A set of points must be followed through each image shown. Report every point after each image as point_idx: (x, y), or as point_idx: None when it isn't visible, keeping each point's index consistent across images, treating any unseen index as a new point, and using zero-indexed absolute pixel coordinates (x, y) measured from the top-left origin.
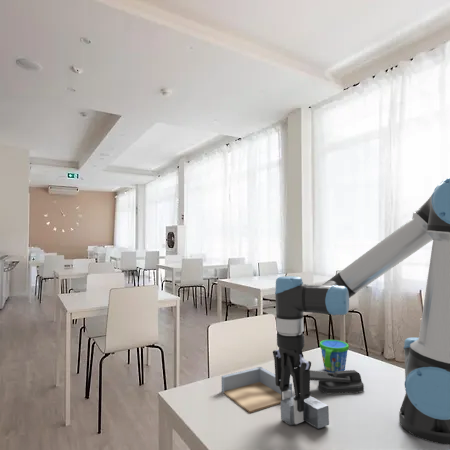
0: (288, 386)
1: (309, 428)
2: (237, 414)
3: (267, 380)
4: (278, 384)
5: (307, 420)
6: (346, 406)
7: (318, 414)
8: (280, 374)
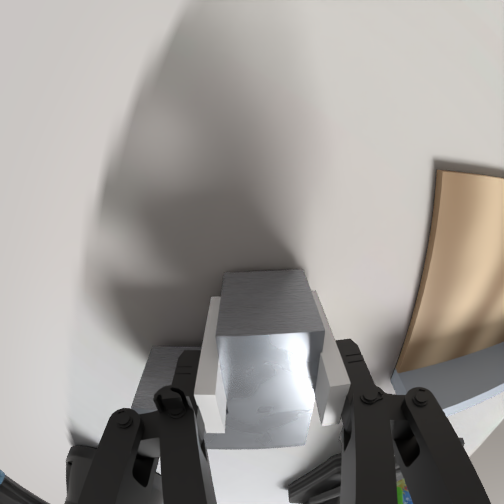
0: (343, 438)
1: (185, 329)
2: (454, 113)
3: (501, 359)
4: (405, 406)
5: None
6: (252, 457)
7: (138, 391)
8: (422, 475)
